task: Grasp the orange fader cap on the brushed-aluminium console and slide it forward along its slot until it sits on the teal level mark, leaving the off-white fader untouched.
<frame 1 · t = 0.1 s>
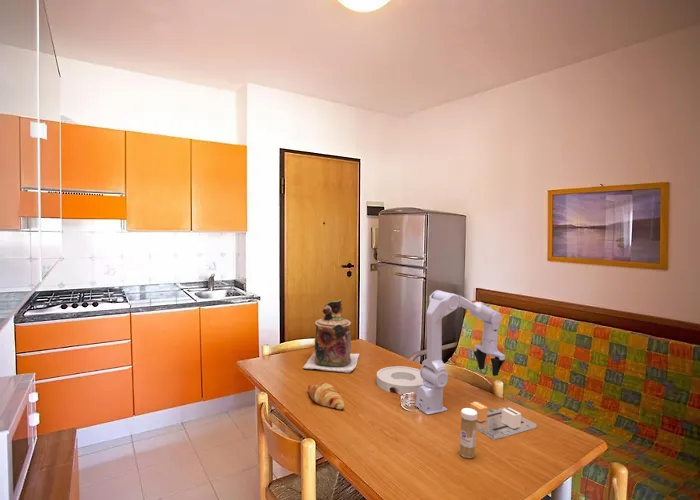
hand: (488, 372, 159), 10 cm above the table, fingers open, 7 cm apart
croissant: (324, 402, 150), on the table
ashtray: (403, 385, 170), on the table
sprinkles bottle: (467, 455, 117), on the table
fader cap 2: (511, 417, 133), point 4 cm above the table, slide at 0.0 cm
fader cap: (478, 411, 137), point 4 cm above the table, slide at 0.0 cm
cookie jar: (332, 364, 193), on the table
console: (499, 423, 136), on the table
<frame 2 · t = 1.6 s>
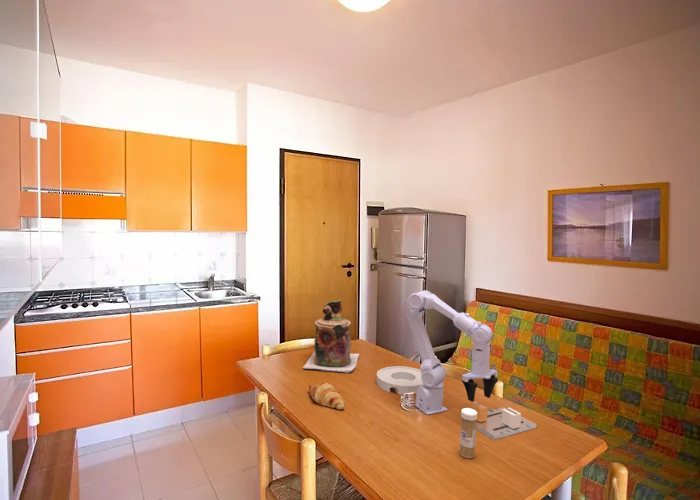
hand: (479, 398, 137), 8 cm above the table, fingers open, 7 cm apart
nothing on the table moved.
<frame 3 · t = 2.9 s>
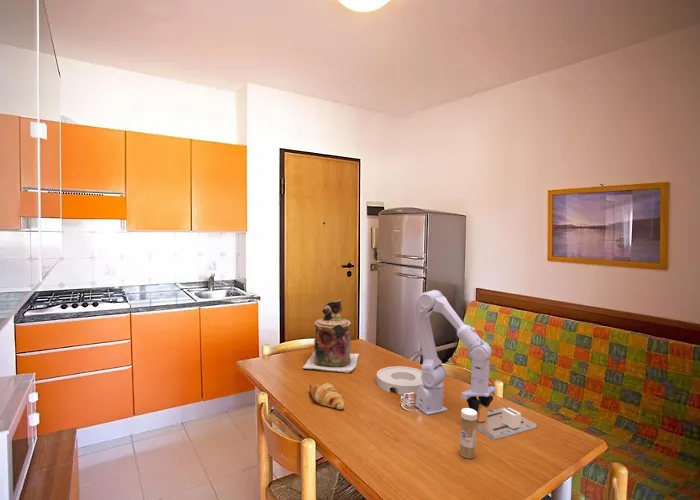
hand: (478, 415, 137), 2 cm above the table, fingers closed on fader cap, 3 cm apart
fader cap: (478, 411, 137), point 4 cm above the table, slide at 0.0 cm, touching gripper
everything else where it was.
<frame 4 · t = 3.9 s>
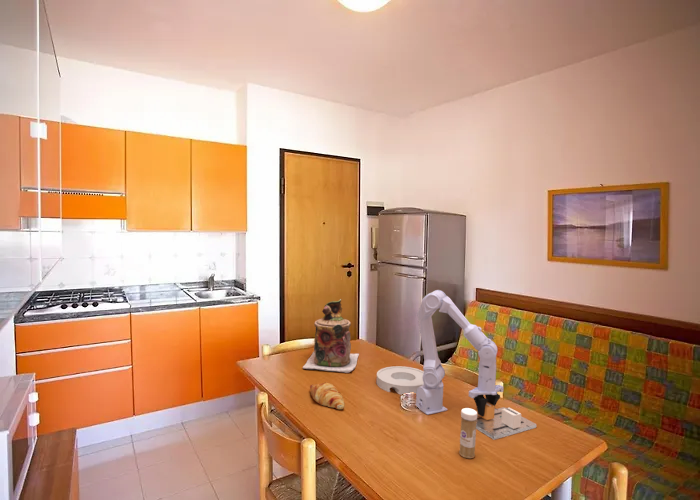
hand: (485, 414, 139), 2 cm above the table, fingers closed on fader cap, 3 cm apart
fader cap: (485, 409, 139), point 4 cm above the table, slide at 3.3 cm, touching gripper
everything else where it was.
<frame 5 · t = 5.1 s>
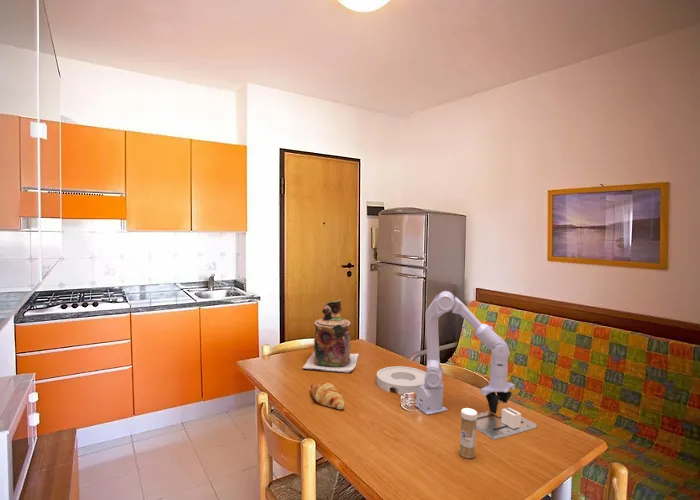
hand: (496, 411, 141), 2 cm above the table, fingers closed on fader cap, 3 cm apart
fader cap: (497, 406, 141), point 4 cm above the table, slide at 9.0 cm, touching gripper
everything else where it was.
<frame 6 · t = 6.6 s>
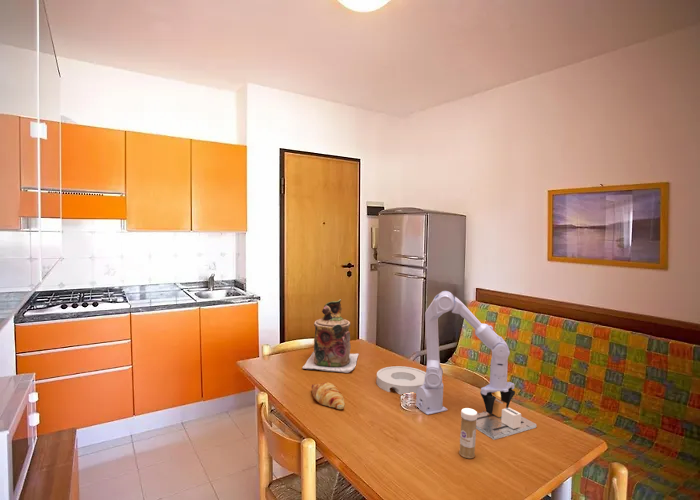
hand: (496, 410, 141), 2 cm above the table, fingers open, 7 cm apart
fader cap: (497, 406, 141), point 4 cm above the table, slide at 9.0 cm
everything else where it was.
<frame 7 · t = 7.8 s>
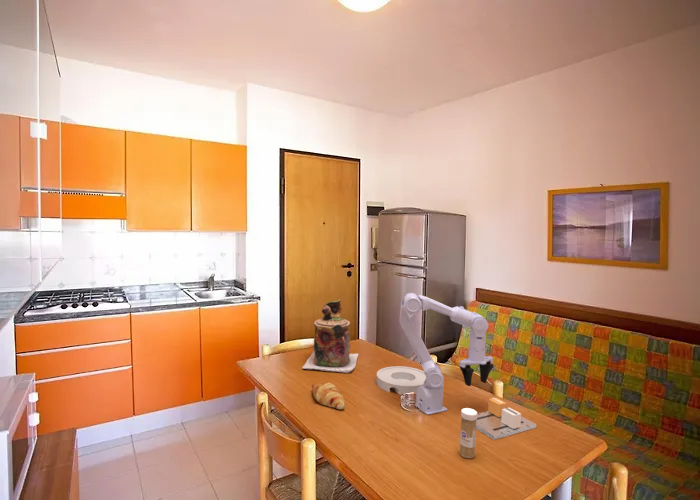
hand: (475, 383, 145), 10 cm above the table, fingers open, 7 cm apart
nothing on the table moved.
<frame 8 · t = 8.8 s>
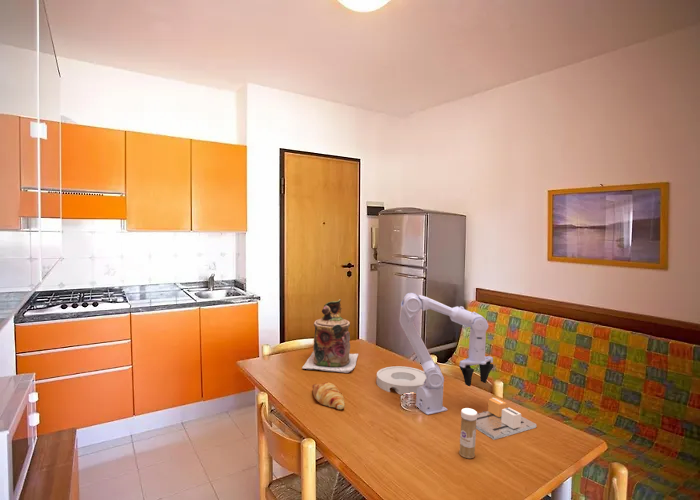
hand: (475, 383, 145), 10 cm above the table, fingers open, 7 cm apart
at the end: fader cap slide at 9.0 cm; the gripper is holding nothing; fader cap 2 slide at 0.0 cm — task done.
